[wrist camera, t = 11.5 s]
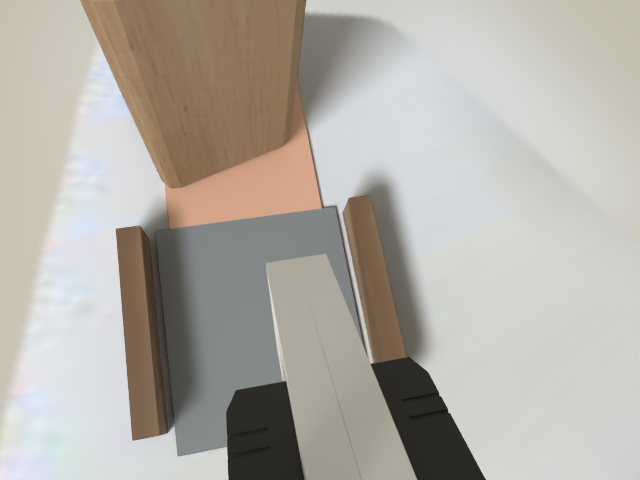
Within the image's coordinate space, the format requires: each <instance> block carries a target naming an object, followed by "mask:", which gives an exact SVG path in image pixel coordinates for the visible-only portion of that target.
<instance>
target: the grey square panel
mask: <svg viewBox="0 0 640 480" xmlns="http://www.w3.org/2000/svg"><path fill="white" fill-rule="evenodd" d="M155 234H156V244H157V254H158V264H159V274H160V284H161V294H162V304H163V314H164V324H165V334H166V344H167V354H168V364H169V374H170V384H171V394H172V404H173V413H174V423H175V433H176V443H177V453H178V456H183V455H188V454H193V453H198V452H203V451H208V450H213V449H218V448H223V447H227V424H226V411H227V409H228V406H229V404H230V402H231V400H232V398H233V395H234V393H235V391H236V390H239V389H245V388H250V387H256V386H261V385H267V384H272V383H278V382H283V379H282V373H281V368H280V362H279V357H278V351H277V344H276V336H275V329H274V322H273V314H272V307H271V299H270V292H269V285H268V277H267V270H266V263H268V262H275V261H282V260H288V259H295V258H301V257H308V256H314V255H321V254H326V255H327V257H328V260H329V262H330V265H331V267H332V270H333V272H334V275H335V277H336V280H337V282H338V285H339V287H340V290H341V292H342V295H343V297H344V300H345V302H346V305H347V307H348V309H349V312H350V314H351V317H352V319H353V322H354V324H355V327H356V329H357V332H358V334H359V337H360V339H361V342H362V344H363V341H362V336H361V332H360V327H359V322H358V317H357V312H356V307H355V302H354V297H353V292H352V287H351V282H350V277H349V272H348V268H347V263H346V258H345V253H344V248H343V243H342V238H341V233H340V228H339V223H338V218H337V213H336V208H335V207H329V208H322V209H314V210H307V211H299V212H292V213H284V214H277V215H269V216H262V217H255V218H247V219H240V220H232V221H225V222H217V223H210V224H203V225H195V226H188V227H180V228H173V229H165V230H158V231H155ZM363 347H364V346H363Z"/></svg>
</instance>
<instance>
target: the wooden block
mask: <svg viewBox="0 0 640 480" xmlns="http://www.w3.org/2000/svg"><path fill="white" fill-rule="evenodd" d="M80 1H81V3H82V5H83V7H84V10H85V12H86V14H87V17H88V19H89V21H90V23H91V25H92V28H93V30H94V32H95V35H96V37H97V39H98V41H99V44H100V46H101V48H102V50H103V53H104V55H105V57H106V60H107V62H108V64H109V66H110V69H111V71H112V73H113V75H114V78H115V80H116V82H117V84H118V87H119V89H120V91H121V93H122V95H123V98H124V100H125V102H126V104H127V106H128V108H129V111H130V113H131V115H132V117H133V119H134V121H135V124H136V126H137V128H138V130H139V132H140V134H141V137H142V139H143V141H144V143H145V145H146V147H147V150H148V152H149V154H150V156H151V158H152V160H153V163H154V165H155V167H156V169H157V171H158V173H159V176H160V178H161V180H162V181H163V182H164V183H165V184H166V185H167V186H168V187H170V188H172V189H174V188H182V187H184V186H186V185H189V184H191V183H194V182H196V181H199V180H201V179H204V178H206V177H209V176H211V175H214V174H216V173H219V172H221V171H223V170H226V169H228V168H231V167H233V166H236V165H238V164H241V163H243V162H246V161H248V160H251V159H253V158H255V157H258V156H260V155H263V154H265V153H268V152H270V151H273V150H275V149H278V148H280V147H282V146H284V145H285V144H286V143H287V142H288V141H289V140H290V135H291V127H292V118H293V109H294V101H295V92H296V84H297V75H298V66H299V58H300V49H301V40H302V32H303V23H304V15H305V6H306V0H80Z"/></svg>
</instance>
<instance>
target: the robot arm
mask: <svg viewBox="0 0 640 480" xmlns="http://www.w3.org/2000/svg"><path fill="white" fill-rule="evenodd" d="M266 270H267V277H268V285H269V292H270V299H271V307H272V314H273V322H274V329H275V336H276V344H277V351H278V357H279V362H280V368H281V373H282V379H283V382H278V383H272V384H267V385H261V386H256V387H250V388H245V389H239V390H236V391H235V393H234V395H233V398H232V400H231V402H230V404H229V406H228V409H227V411H226V424H227V450H228V476H229V480H486V479H485V478H484V476H483V474H482V472H481V470H480V468H479V466H478V465H477V463H476V461H475V459H474V457H473V455H472V453H471V452H470V450H469V448H468V446H467V444H466V442H465V440H464V438H463V437H462V435H461V433H460V431H459V429H458V427H457V425H456V424H455V422H454V420H453V418H452V416H451V414H450V413H448V409H447V407H446V405H445V403H444V401H443V399H442V397H441V396H439V392H438V390H437V388H436V386H435V384H434V382H433V381H432V379H431V377H430V375H429V373H428V372H427V371H426V370H425V369H423V368H422V367H421V366H420V365H418V364H417V363H416V362H415V361H414V360H412V359H411V358H410V357H406V358H400V359H395V360H389V361H384V362H378V363H373V364H370V362H369V359H368V357H367V354H366V352H365V349H364V347H363V344H362V342H361V339H360V337H359V334H358V332H357V329H356V327H355V324H354V322H353V319H352V317H351V314H350V312H349V309H348V307H347V305H346V302H345V300H344V297H343V295H342V292H341V290H340V287H339V285H338V282H337V280H336V277H335V275H334V272H333V270H332V267H331V265H330V262H329V260H328V257H327V255H326V254H321V255H314V256H308V257H301V258H295V259H288V260H282V261H275V262H268V263H266Z"/></svg>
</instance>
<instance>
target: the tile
mask: <svg viewBox="0 0 640 480" xmlns="http://www.w3.org/2000/svg"><path fill="white" fill-rule="evenodd" d="M165 190H166V199H167V208H168V218H169V227H170V229H173V228H180V227H188V226H195V225H203V224H210V223H217V222H225V221H232V220H240V219H247V218H255V217H262V216H269V215H277V214H284V213H292V212H299V211H307V210H314V209H322V206H321V201H320V196H319V191H318V186H317V180H316V175H315V170H314V165H313V160H312V155H311V150H310V145H309V139H308V134H307V129H306V124H305V119H304V114H303V109H302V104H301V99H300V93H299V88H298V83H297V84H296V92H295V101H294V109H293V118H292V127H291V135H290V140H289V141H288V142H287V143H286V144H285V145H284V146H282V147H280V148H278V149H275V150H273V151H270V152H268V153H265V154H263V155H260V156H258V157H255V158H253V159H251V160H248V161H246V162H243V163H241V164H238V165H236V166H233V167H231V168H228V169H226V170H223V171H221V172H219V173H216V174H214V175H211V176H209V177H206V178H204V179H201V180H199V181H196V182H194V183H191V184H189V185H186V186H184V187H182V188H174V189H172V188H170V187H168V186H167V185H166V184H165Z"/></svg>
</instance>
